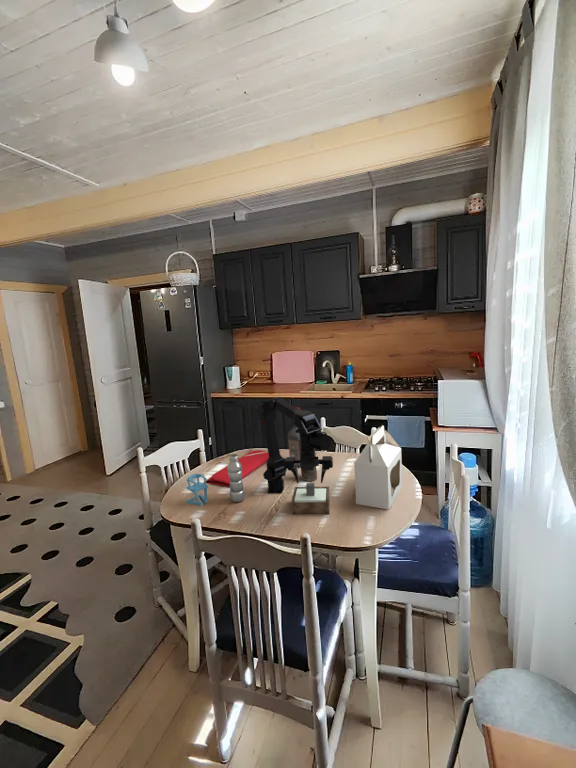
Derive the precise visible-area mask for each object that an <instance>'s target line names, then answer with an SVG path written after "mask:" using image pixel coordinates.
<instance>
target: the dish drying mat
mask: <svg viewBox="0 0 576 768" xmlns="http://www.w3.org/2000/svg"><path fill="white" fill-rule="evenodd" d="M268 458H269V454H268V450H260V449H256V450H251V451H249V452H248V453H246V454H245V455H243V456H241V457H240V458H239V457H238V461H239V462H240V463H241V465H242V480H244V479H245V478H247V477H248V476H250V474H252V473H253V472H255V471H256V470H258V469H259V468H260V467H261V466H263V465H264V464H265V463H267V461H268ZM227 466H228V465H226V466H225V467H223V468H222V469H220V470H218V471H217V472H214V473H213V474H212V475H211V477H209V478H208V479H206V484H209V483H210V484H209V485H215V486H221V487H227V488H230V479H229V475H228V471H227Z"/></svg>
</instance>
